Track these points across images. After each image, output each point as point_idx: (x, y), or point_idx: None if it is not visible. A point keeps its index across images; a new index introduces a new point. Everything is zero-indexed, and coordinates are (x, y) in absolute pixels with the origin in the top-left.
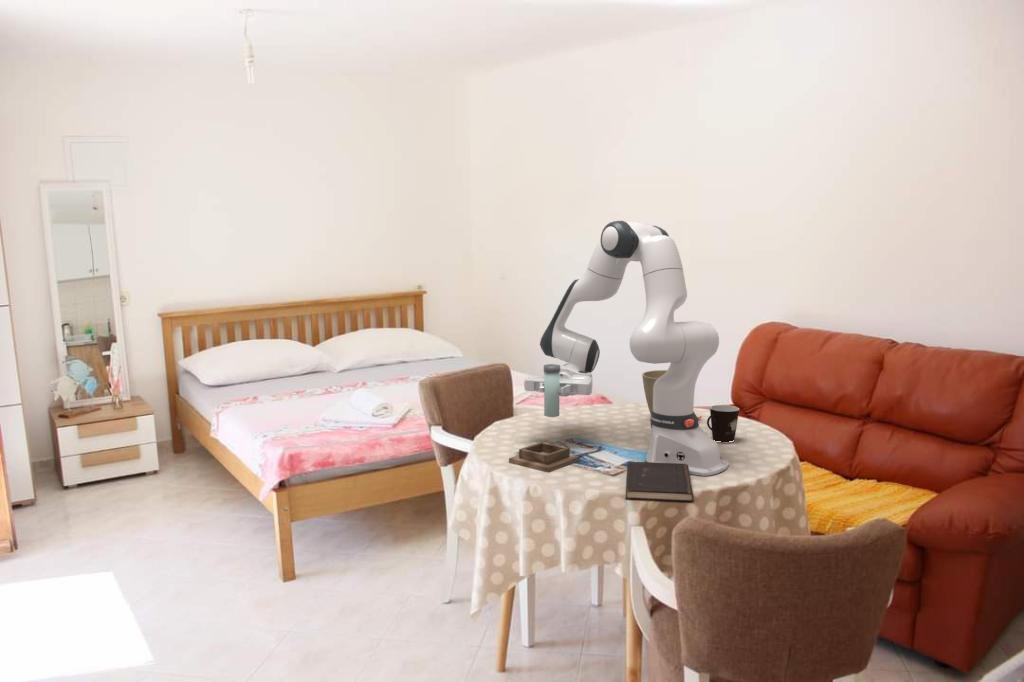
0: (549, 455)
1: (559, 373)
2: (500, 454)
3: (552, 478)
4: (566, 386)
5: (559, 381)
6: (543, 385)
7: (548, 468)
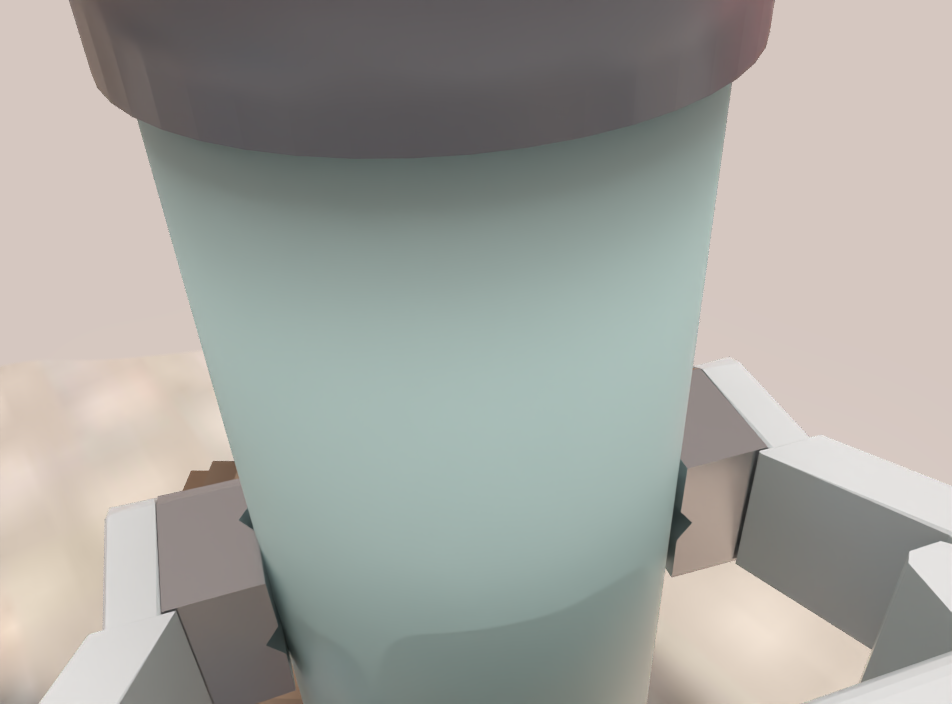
0: (205, 481)
1: (149, 158)
2: (763, 596)
3: (131, 434)
4: (55, 698)
5: (227, 424)
6: (896, 590)
7: (192, 474)
